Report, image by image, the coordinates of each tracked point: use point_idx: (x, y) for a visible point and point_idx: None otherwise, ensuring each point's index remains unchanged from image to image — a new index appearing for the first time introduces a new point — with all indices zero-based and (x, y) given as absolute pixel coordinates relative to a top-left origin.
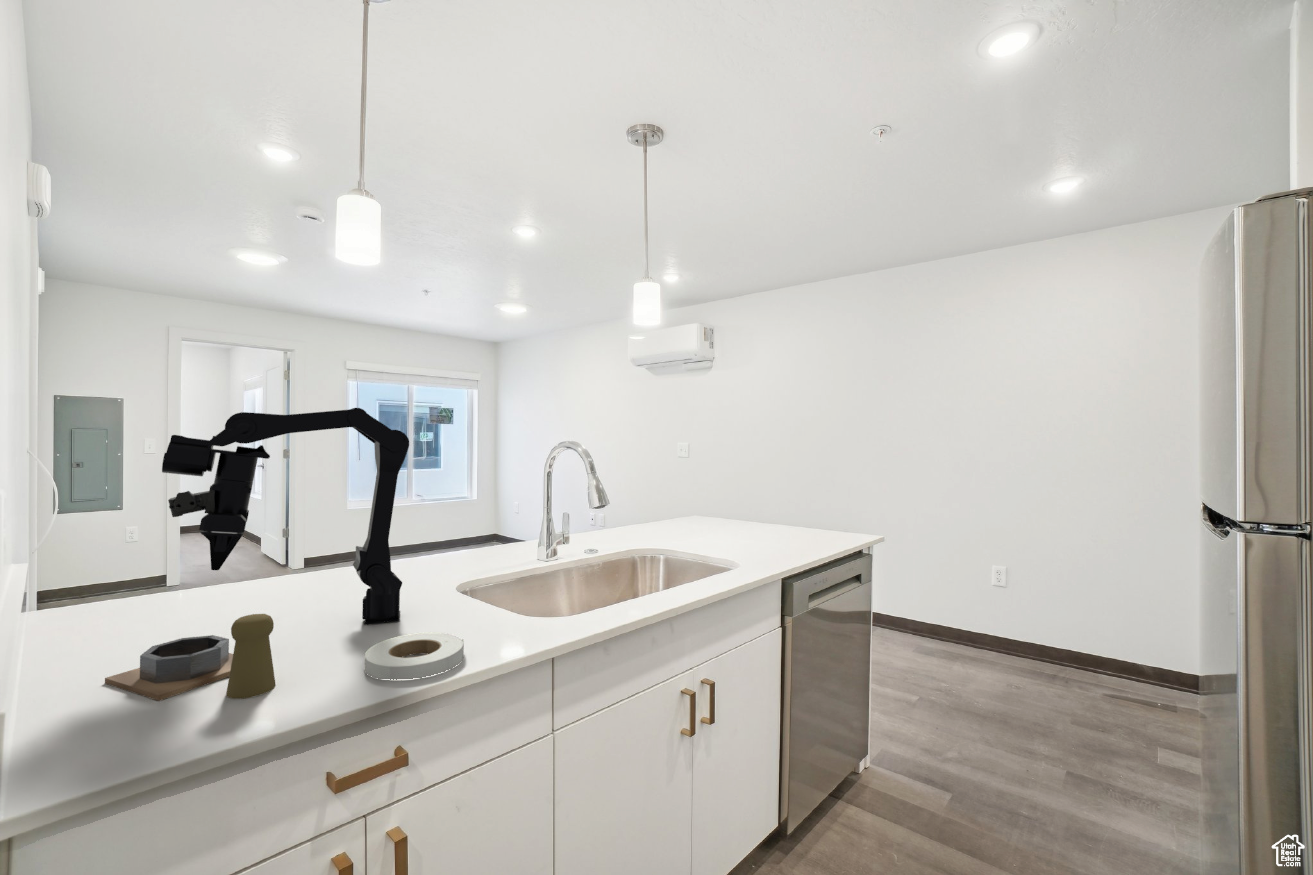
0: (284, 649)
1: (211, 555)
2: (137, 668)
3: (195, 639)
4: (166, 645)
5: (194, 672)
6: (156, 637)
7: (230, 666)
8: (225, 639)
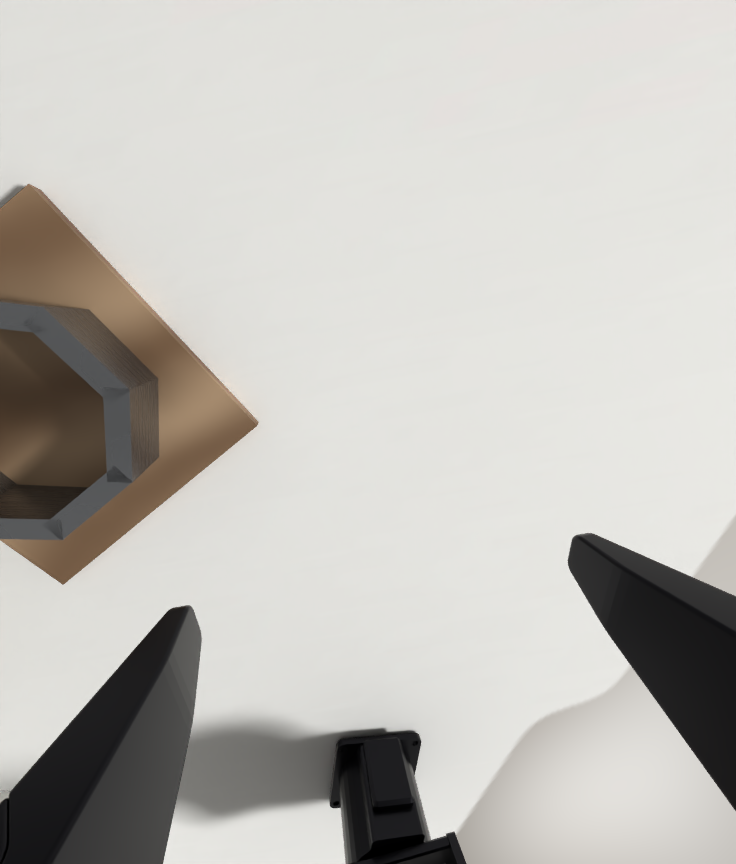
0: (202, 603)
1: (56, 748)
2: (102, 266)
3: (107, 433)
4: (57, 352)
5: None
6: (494, 242)
7: None
8: (57, 531)
